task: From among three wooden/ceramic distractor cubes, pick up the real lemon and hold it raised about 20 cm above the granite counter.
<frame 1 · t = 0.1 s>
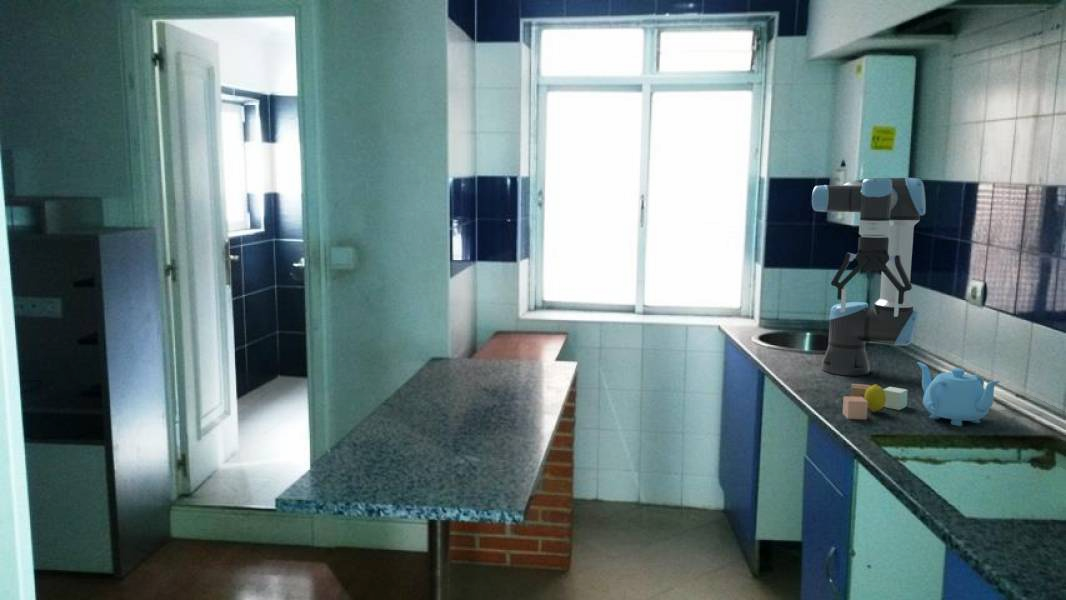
hand: (868, 313, 218), 28 cm above the worktop, fingers open, 13 cm apart
sage cube: (893, 406, 228), on the worktop
teapot: (953, 420, 215), on the worktop
lemon: (874, 412, 222), on the worktop
walnut cube: (859, 403, 231), on the worktop
terracotta cube: (854, 416, 218), on the worktop
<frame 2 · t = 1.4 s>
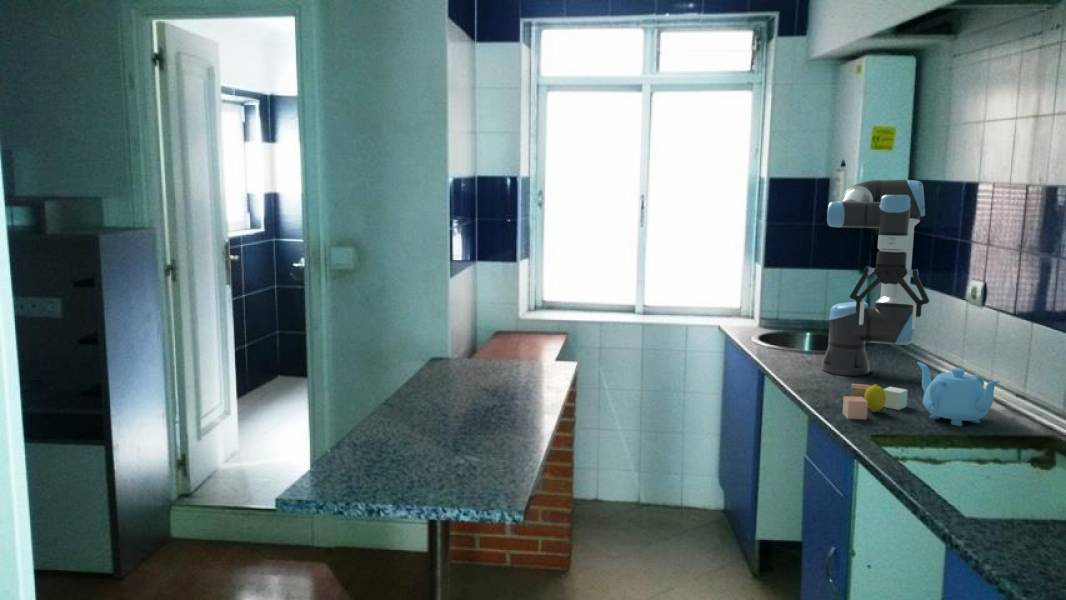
hand: (886, 326, 223), 23 cm above the worktop, fingers open, 13 cm apart
nothing on the worktop moved.
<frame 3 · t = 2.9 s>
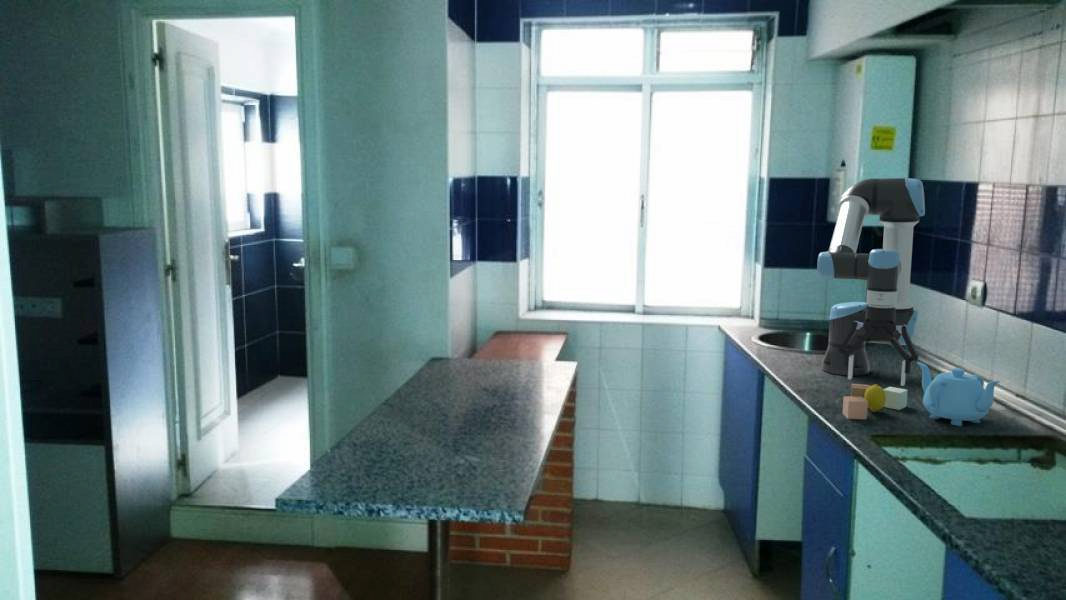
hand: (875, 381, 220), 9 cm above the worktop, fingers open, 13 cm apart
nothing on the worktop moved.
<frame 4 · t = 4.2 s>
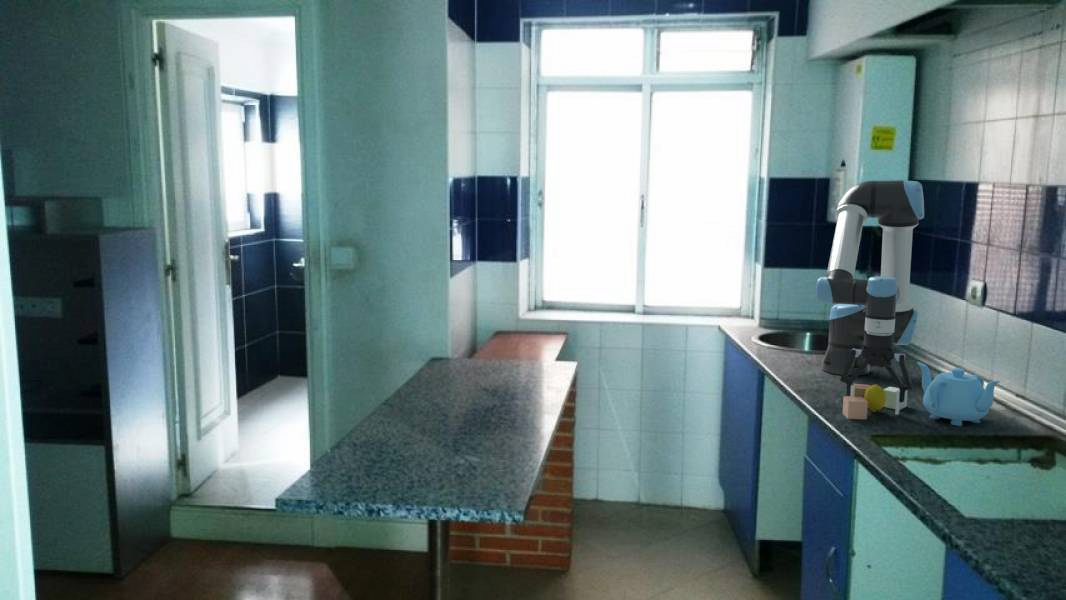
hand: (874, 410, 222), 1 cm above the worktop, fingers open, 11 cm apart
nothing on the worktop moved.
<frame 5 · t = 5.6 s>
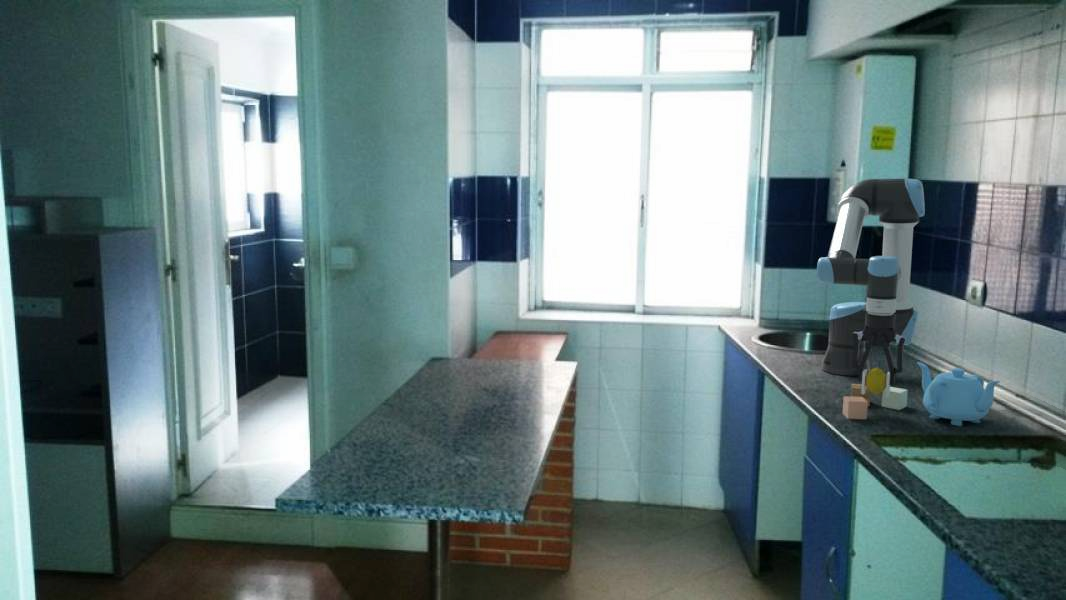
hand: (875, 394, 222), 5 cm above the worktop, fingers closed on lemon, 5 cm apart
lemon: (875, 395, 222), point 4 cm above the worktop, touching gripper
everything else where it was.
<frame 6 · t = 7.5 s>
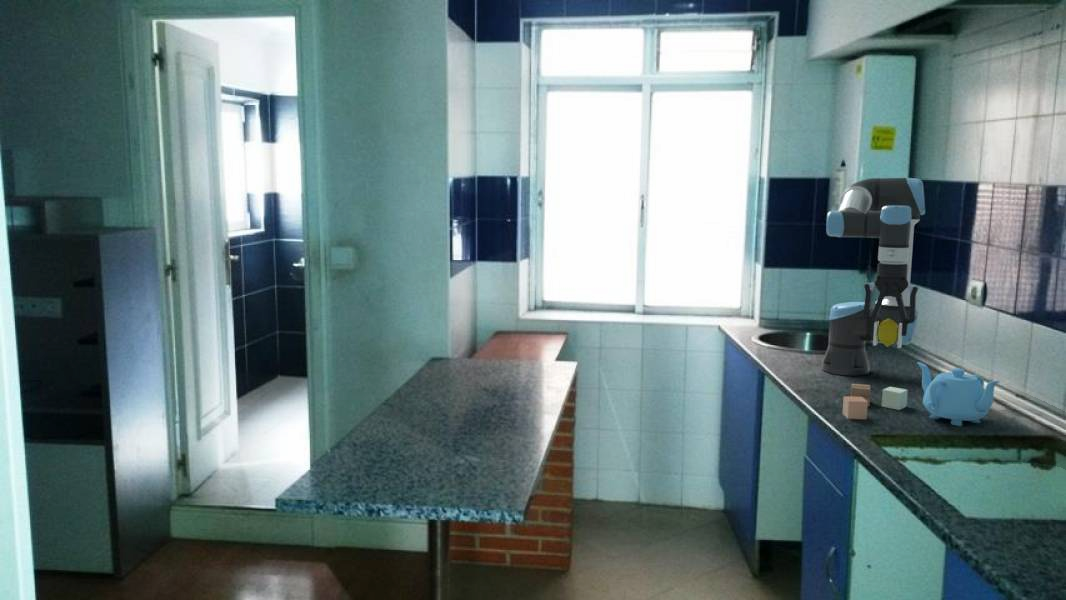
hand: (887, 345, 220), 19 cm above the worktop, fingers closed on lemon, 5 cm apart
lemon: (887, 347, 220), point 18 cm above the worktop, touching gripper
everything else where it was.
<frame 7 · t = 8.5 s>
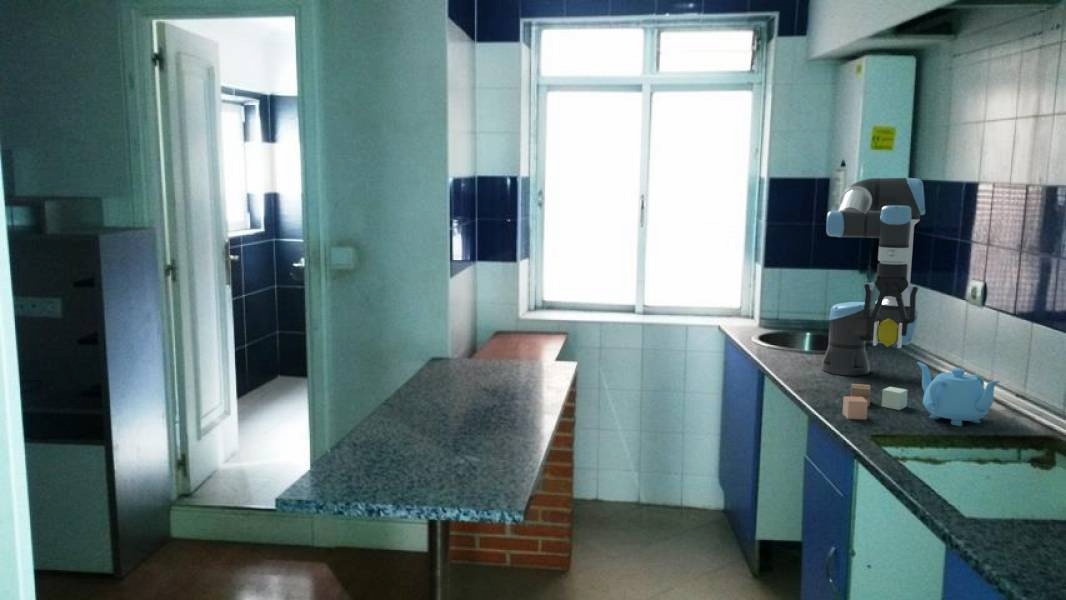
hand: (887, 345, 220), 19 cm above the worktop, fingers closed on lemon, 5 cm apart
lemon: (887, 347, 220), point 18 cm above the worktop, touching gripper
everything else where it was.
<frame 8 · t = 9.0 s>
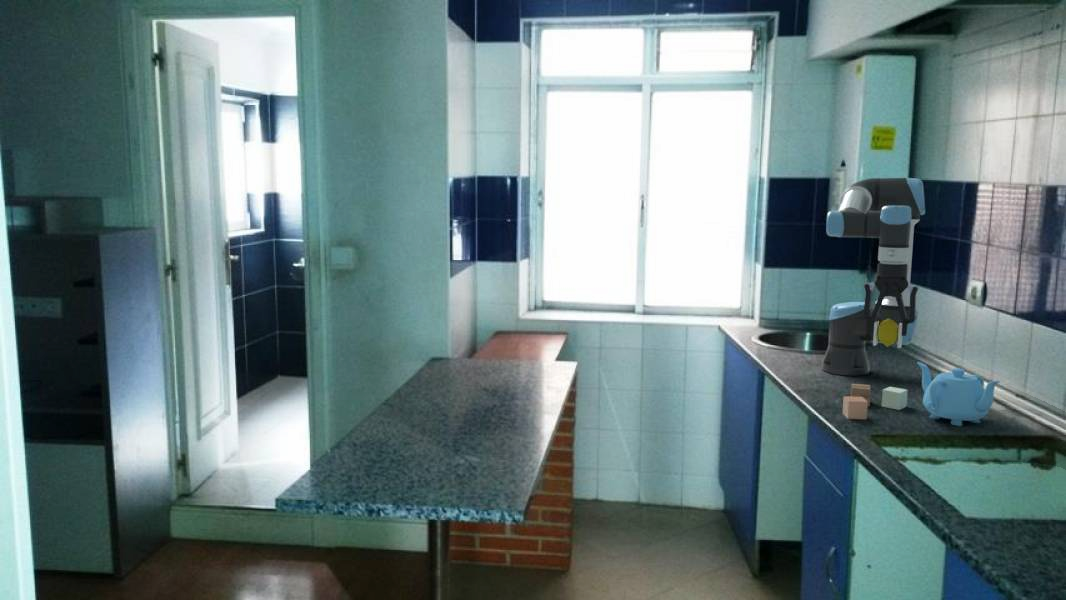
hand: (887, 345, 220), 19 cm above the worktop, fingers closed on lemon, 5 cm apart
lemon: (887, 347, 220), point 18 cm above the worktop, touching gripper
everything else where it was.
at the end: the gripper is holding lemon; lemon point 18.2 cm above the worktop; terracotta cube moved 0.1 cm from its start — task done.
